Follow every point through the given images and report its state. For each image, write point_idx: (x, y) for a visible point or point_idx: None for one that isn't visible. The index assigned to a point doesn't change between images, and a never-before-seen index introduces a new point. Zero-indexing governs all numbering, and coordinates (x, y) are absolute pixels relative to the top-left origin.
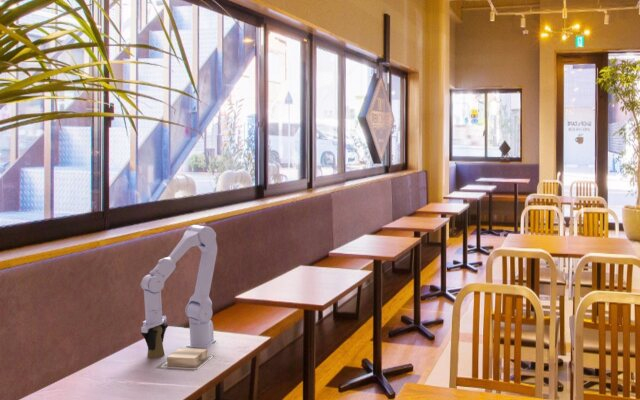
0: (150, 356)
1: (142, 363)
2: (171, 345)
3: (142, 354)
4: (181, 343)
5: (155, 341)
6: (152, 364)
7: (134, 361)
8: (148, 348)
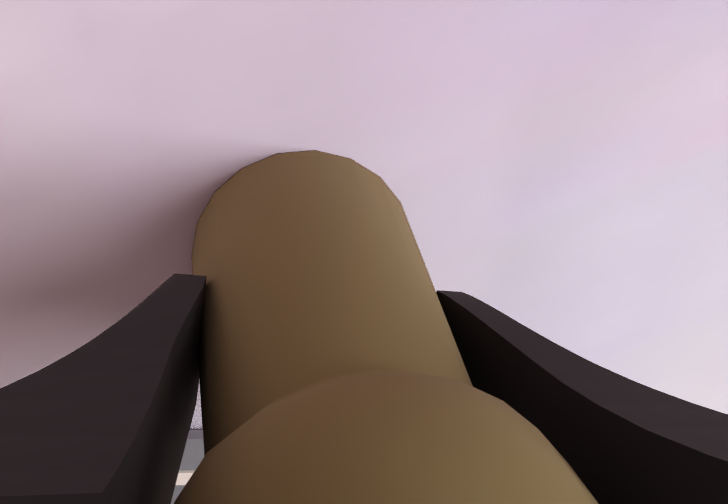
0: (195, 246)
1: (3, 186)
2: (687, 270)
3: (402, 29)
4: (720, 340)
5: (171, 495)
6: (2, 331)
7: (62, 18)
8: (166, 284)
